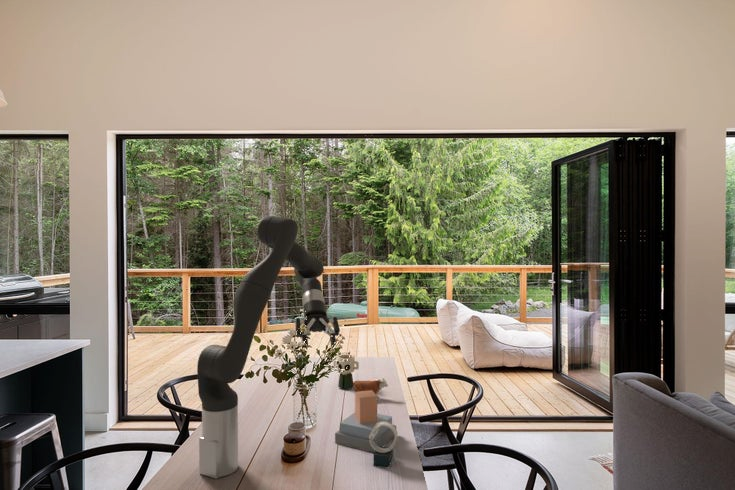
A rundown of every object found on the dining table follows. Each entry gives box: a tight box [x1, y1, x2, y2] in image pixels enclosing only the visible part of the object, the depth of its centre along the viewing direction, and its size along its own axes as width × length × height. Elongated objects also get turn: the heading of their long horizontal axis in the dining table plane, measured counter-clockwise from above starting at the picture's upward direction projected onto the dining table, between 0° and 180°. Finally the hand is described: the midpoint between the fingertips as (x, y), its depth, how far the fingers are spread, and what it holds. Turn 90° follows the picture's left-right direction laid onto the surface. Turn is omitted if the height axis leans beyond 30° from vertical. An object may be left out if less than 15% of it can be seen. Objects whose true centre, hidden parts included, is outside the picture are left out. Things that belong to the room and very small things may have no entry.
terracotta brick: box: [354, 390, 378, 424], centre depth 146 cm, size 6×6×8 cm
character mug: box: [332, 353, 360, 390], centre depth 195 cm, size 11×7×13 cm, turn 74°
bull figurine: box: [352, 378, 389, 399], centre depth 182 cm, size 4×13×8 cm, turn 89°
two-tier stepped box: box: [334, 412, 397, 454], centre depth 147 cm, size 14×14×6 cm
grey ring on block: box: [369, 421, 398, 468], centre depth 132 cm, size 6×8×11 cm
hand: (319, 346), depth 152 cm, fingers open, 8 cm apart
